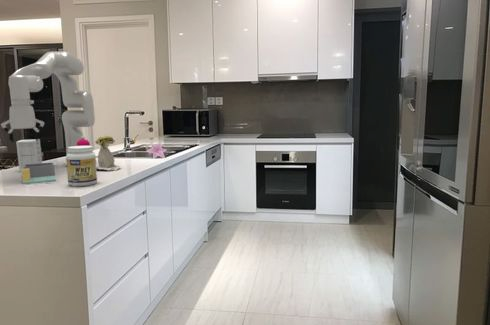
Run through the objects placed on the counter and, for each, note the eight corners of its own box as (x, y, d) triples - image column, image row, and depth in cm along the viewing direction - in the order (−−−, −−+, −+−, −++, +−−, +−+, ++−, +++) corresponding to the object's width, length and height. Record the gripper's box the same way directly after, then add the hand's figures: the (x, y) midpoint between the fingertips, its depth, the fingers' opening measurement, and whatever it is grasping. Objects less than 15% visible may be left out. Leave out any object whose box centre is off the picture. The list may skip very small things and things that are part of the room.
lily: (144, 160, 257) (146, 147, 252) (149, 150, 267) (151, 138, 262) (162, 165, 258) (164, 153, 253) (166, 156, 268) (169, 144, 263)
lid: (55, 179, 192) (54, 165, 191) (56, 183, 184) (54, 168, 183) (23, 182, 186) (22, 167, 185) (22, 186, 178) (21, 171, 177)
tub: (54, 173, 205) (53, 162, 204) (55, 176, 197) (54, 164, 196) (25, 176, 199) (24, 164, 198) (25, 179, 191) (23, 167, 190)
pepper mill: (77, 175, 200) (74, 135, 197) (92, 174, 203) (90, 135, 200) (77, 178, 194) (74, 137, 190) (93, 176, 196) (90, 136, 193)
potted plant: (108, 172, 209) (105, 137, 206) (90, 170, 215) (88, 136, 212) (124, 168, 219) (122, 135, 216) (107, 167, 225) (105, 134, 222)
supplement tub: (68, 188, 172) (65, 148, 170) (68, 182, 183) (65, 145, 181) (98, 185, 177) (95, 147, 174) (96, 180, 188) (94, 144, 185)
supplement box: (43, 169, 218) (40, 139, 215) (39, 172, 209) (36, 140, 206) (24, 170, 215) (21, 139, 213) (18, 173, 206) (15, 141, 204)
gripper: (42, 102, 186) (45, 139, 189) (-1, 103, 178) (3, 141, 181) (42, 103, 179) (46, 141, 182) (-3, 104, 171) (2, 143, 174)
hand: (25, 141), depth 182 cm, fingers open, 9 cm apart
